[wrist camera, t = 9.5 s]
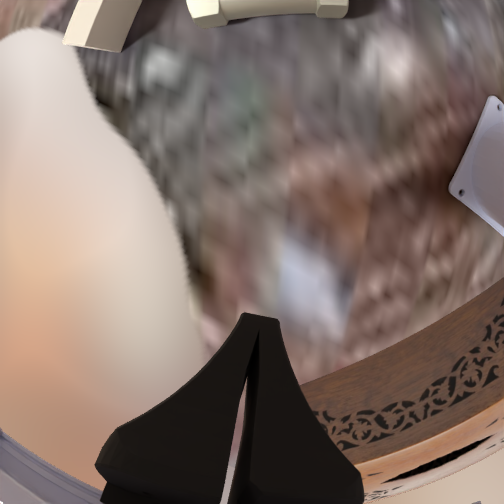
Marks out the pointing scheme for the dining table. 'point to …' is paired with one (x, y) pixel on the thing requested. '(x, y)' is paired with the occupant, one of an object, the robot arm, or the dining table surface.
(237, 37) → the dining table surface
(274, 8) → the pipe fitting
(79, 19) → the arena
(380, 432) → the tissue box cover
